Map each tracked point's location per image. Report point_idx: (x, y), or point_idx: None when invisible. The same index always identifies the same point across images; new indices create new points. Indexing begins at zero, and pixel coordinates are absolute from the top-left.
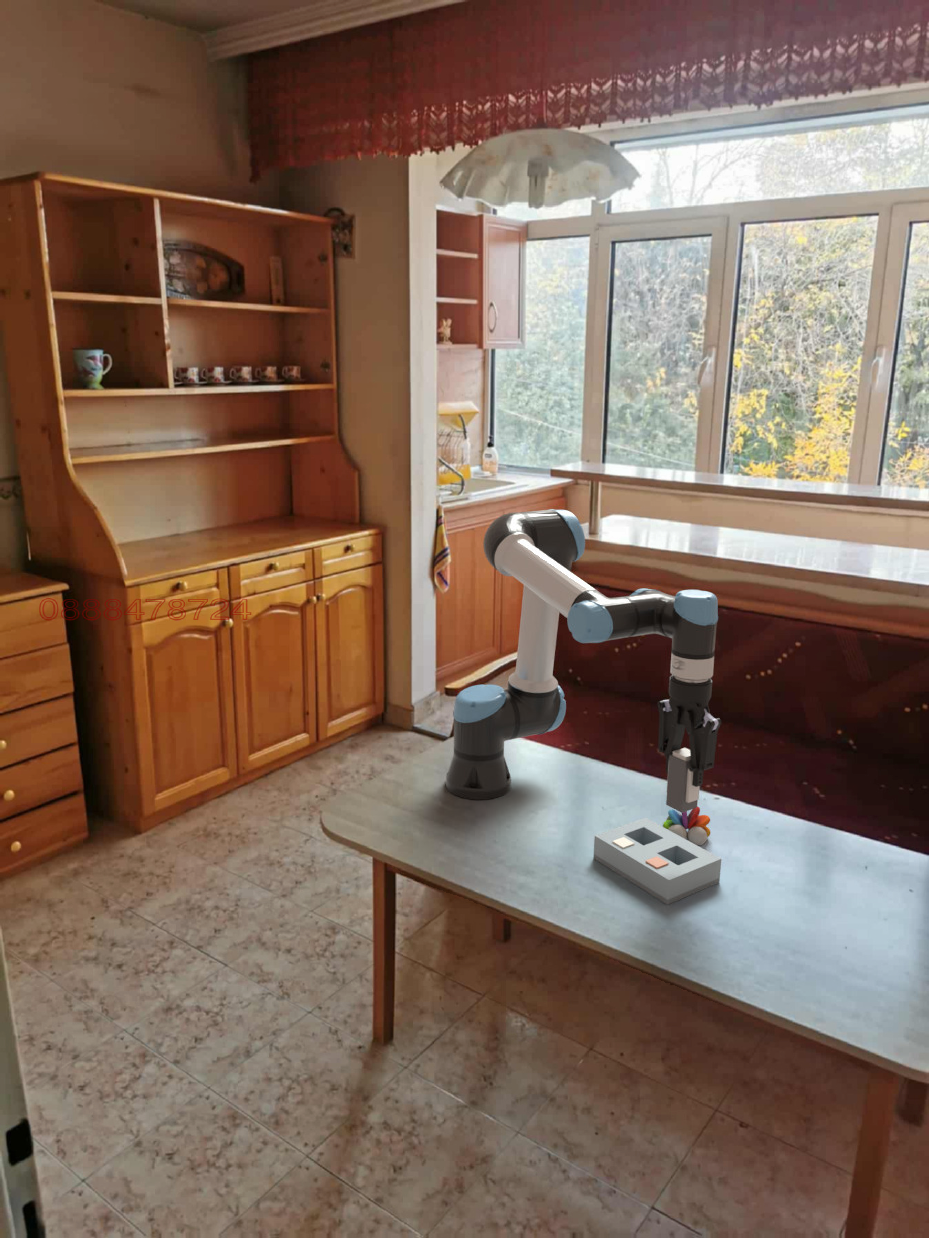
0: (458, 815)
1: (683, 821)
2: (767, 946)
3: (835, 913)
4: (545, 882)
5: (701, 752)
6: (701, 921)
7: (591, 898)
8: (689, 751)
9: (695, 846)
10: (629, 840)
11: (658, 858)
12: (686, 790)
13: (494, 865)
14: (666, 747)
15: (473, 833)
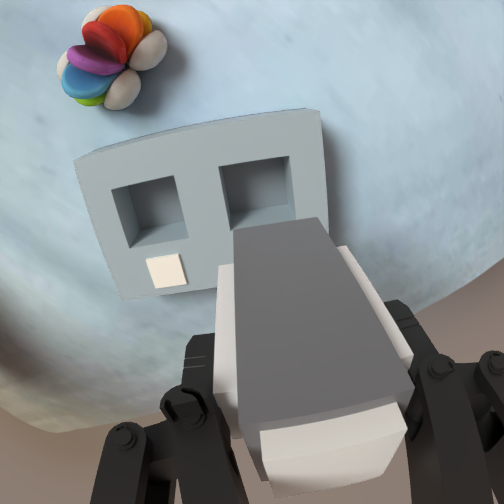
0: (11, 356)
1: (111, 73)
2: (459, 184)
3: (454, 29)
4: (182, 357)
5: (491, 479)
6: (378, 224)
7: None
8: (340, 457)
9: (242, 127)
10: (163, 257)
11: None
12: None
13: (126, 381)
14: (169, 475)
15: (49, 365)
